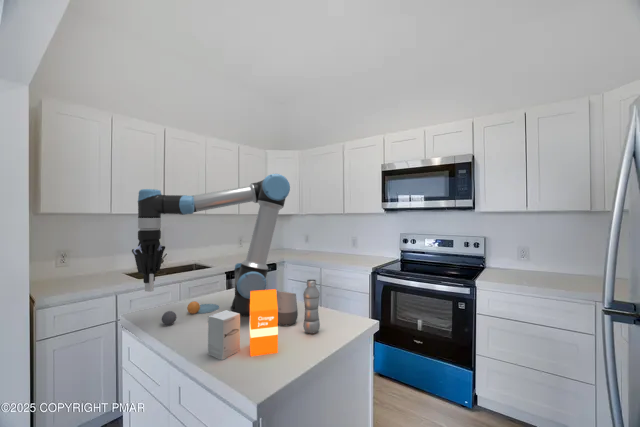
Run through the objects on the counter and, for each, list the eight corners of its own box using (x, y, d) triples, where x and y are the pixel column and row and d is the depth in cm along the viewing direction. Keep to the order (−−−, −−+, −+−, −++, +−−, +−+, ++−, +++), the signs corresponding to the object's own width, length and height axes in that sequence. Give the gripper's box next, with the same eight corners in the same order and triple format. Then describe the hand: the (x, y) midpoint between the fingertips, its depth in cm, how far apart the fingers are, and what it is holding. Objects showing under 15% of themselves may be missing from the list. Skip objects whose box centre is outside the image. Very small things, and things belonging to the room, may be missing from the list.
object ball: (202, 311, 132) (202, 300, 132) (195, 315, 126) (195, 303, 126) (191, 311, 133) (191, 299, 133) (184, 315, 127) (184, 303, 127)
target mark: (224, 304, 142) (224, 304, 142) (210, 314, 128) (210, 313, 128) (198, 303, 144) (198, 303, 144) (181, 313, 130) (181, 312, 130)
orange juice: (278, 352, 92) (278, 292, 92) (250, 356, 89) (250, 294, 90) (274, 342, 99) (274, 286, 100) (249, 345, 97) (249, 288, 97)
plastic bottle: (322, 329, 111) (322, 279, 111) (316, 336, 104) (316, 282, 105) (307, 327, 113) (307, 278, 113) (300, 334, 106) (300, 281, 107)
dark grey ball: (179, 322, 119) (179, 309, 119) (170, 327, 113) (170, 313, 113) (167, 321, 119) (167, 308, 119) (158, 326, 114) (158, 313, 114)
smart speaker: (301, 321, 120) (301, 288, 120) (289, 328, 112) (289, 293, 112) (284, 317, 124) (284, 285, 125) (270, 324, 116) (270, 290, 116)
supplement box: (222, 360, 87) (222, 320, 87) (207, 354, 91) (207, 315, 91) (240, 351, 93) (240, 313, 93) (225, 345, 97) (225, 309, 97)
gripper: (156, 228, 115) (156, 286, 115) (126, 230, 102) (125, 294, 102) (170, 228, 113) (170, 287, 112) (141, 230, 100) (141, 296, 100)
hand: (149, 290), depth 107 cm, fingers closed
